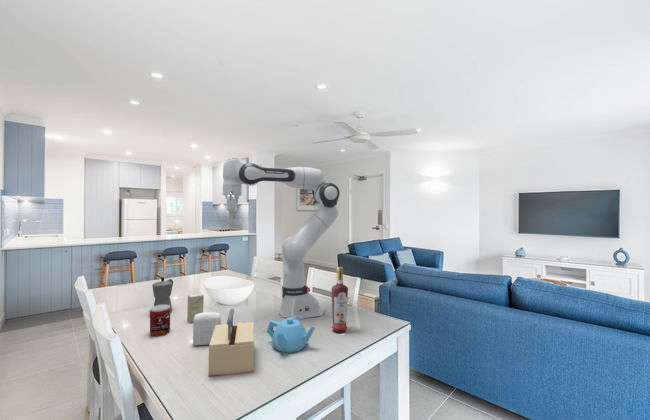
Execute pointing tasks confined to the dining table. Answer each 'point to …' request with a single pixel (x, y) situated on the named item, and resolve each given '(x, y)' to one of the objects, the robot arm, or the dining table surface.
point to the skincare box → (194, 306)
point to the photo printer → (204, 327)
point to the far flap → (222, 332)
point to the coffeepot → (163, 292)
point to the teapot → (289, 335)
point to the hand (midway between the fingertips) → (231, 220)
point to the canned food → (159, 320)
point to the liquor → (339, 303)
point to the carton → (234, 352)
